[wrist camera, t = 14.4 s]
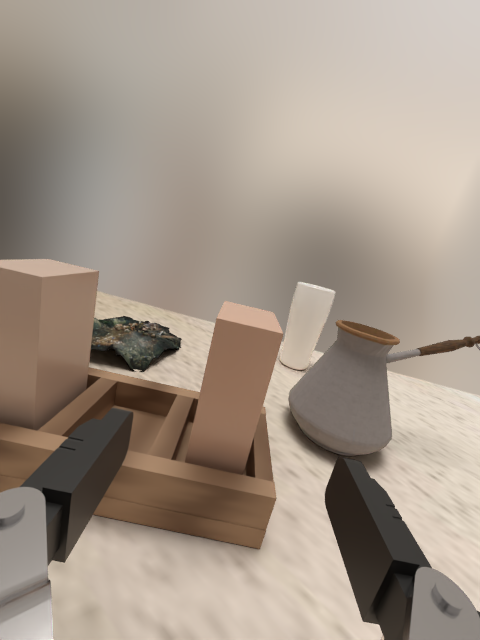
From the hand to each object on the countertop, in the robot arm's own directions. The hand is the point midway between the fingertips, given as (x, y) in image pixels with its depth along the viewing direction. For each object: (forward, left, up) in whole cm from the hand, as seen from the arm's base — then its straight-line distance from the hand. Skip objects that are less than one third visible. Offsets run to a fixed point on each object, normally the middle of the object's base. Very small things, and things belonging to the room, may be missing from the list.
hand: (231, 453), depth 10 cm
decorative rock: (+2, +35, -11) cm, 37 cm away
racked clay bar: (-8, +15, -9) cm, 19 cm away
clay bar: (+5, +8, -9) cm, 13 cm away
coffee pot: (+25, +8, -10) cm, 29 cm away
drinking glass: (+29, +27, -10) cm, 41 cm away
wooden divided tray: (-2, +12, -10) cm, 15 cm away
